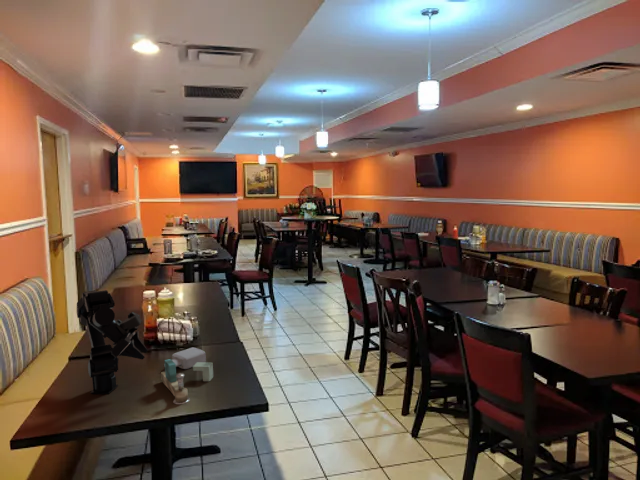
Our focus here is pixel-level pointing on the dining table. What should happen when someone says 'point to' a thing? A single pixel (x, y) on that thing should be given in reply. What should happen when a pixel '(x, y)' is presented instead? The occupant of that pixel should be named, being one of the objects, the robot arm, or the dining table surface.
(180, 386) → the pintle
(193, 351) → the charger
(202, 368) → the block
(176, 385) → the link
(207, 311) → the dining table surface
